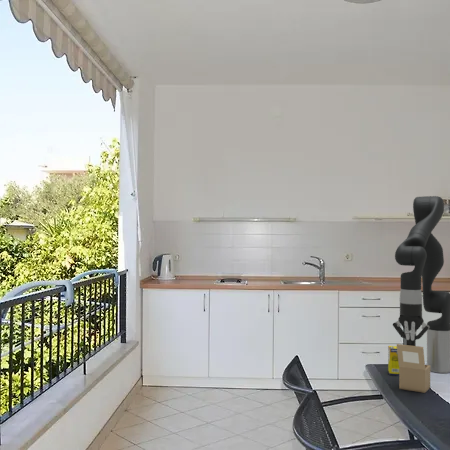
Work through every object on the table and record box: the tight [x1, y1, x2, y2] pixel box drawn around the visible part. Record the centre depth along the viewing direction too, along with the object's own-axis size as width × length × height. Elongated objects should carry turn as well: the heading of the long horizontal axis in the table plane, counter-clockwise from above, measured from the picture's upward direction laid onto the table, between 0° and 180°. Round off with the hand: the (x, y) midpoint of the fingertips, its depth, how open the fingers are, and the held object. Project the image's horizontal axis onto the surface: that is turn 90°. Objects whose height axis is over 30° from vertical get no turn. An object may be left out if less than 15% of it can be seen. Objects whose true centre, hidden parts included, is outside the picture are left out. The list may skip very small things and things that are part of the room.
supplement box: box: [387, 345, 400, 377], centre depth 212 cm, size 6×6×11 cm
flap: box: [396, 343, 426, 370], centre depth 187 cm, size 9×9×1 cm
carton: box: [398, 364, 431, 394], centre depth 192 cm, size 9×9×8 cm
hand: (410, 350), depth 187 cm, fingers closed
